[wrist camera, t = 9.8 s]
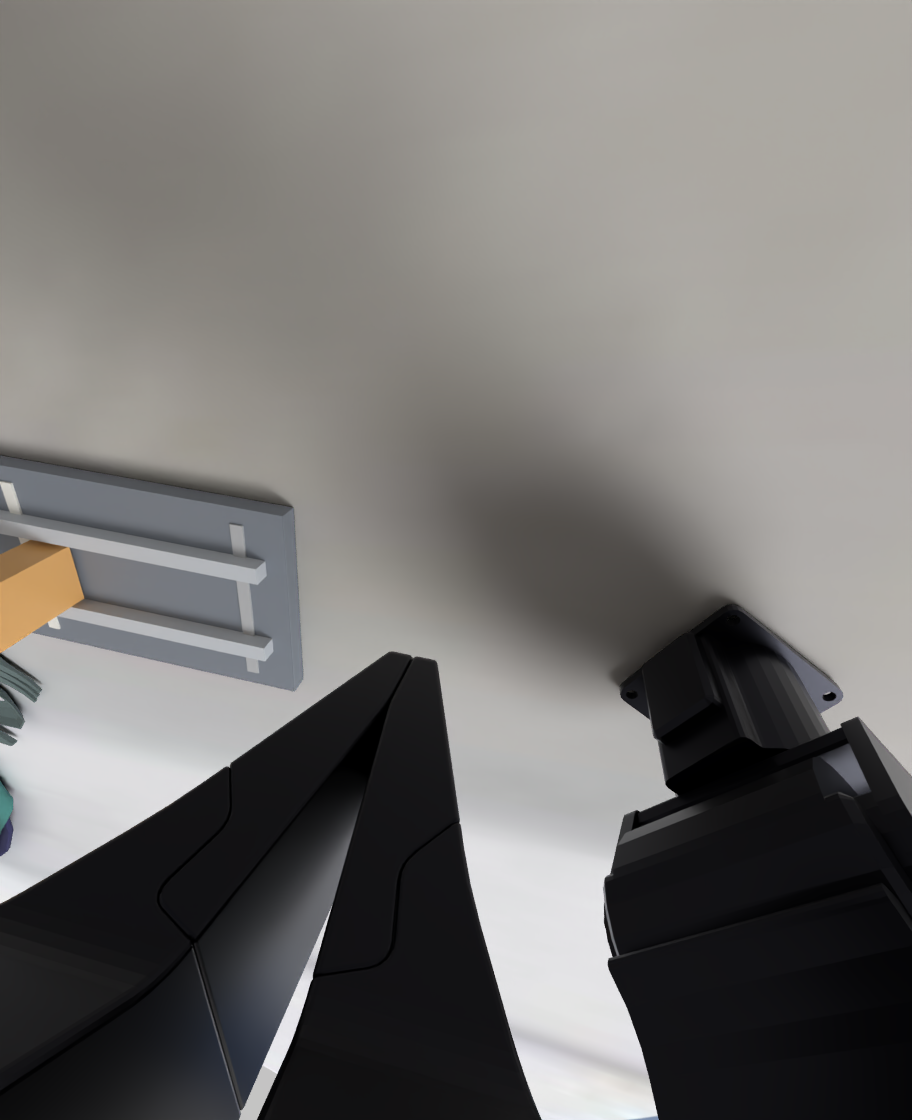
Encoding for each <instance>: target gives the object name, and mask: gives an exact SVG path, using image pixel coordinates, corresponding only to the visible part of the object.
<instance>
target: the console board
mask: <svg viewBox="0 0 912 1120" xmlns="http://www.w3.org/2000/svg"><path fill="white" fill-rule="evenodd" d="M29 540H35V541H40V542H45V543H50V544H55V545H60V546H65V547H69V548H70V551H71V554H72V558H73V561H74V565H75V568H76V571H77V575H78V578H79V582H80V585H81V588H82V592H83V595H84V599H83V600H81V601H80V602H78V603H76V604H75V605H73V606H72V607H70V608H69V609H67V610H66V611H64V612H63V613H61V614H60V615H58V616H57V617H55V618H53V619H52V620H50V621H49V622H47V623H46V624H44V625H43V626H41V627H40V628H38V629H37V630H35V631H34V632H32V633H36V634H40V635H45V636H49V637H54V638H58V639H62V640H67V641H71V642H76V643H80V644H85V645H89V646H94V647H98V648H103V649H107V650H112V651H116V652H120V653H125V654H129V655H134V656H138V657H143V658H147V659H152V660H156V661H161V662H165V663H170V664H174V665H178V666H183V667H187V668H192V669H196V670H201V671H205V672H210V673H214V674H219V675H223V676H228V677H232V678H236V679H241V680H245V681H250V682H254V683H259V684H263V685H268V686H272V687H277V688H281V689H286V690H290V691H294V692H295V690H296V689H297V687H298V686H299V684H300V683H301V682H302V680H303V665H302V647H301V630H300V612H299V594H298V577H297V559H296V542H295V524H294V508H293V507H288V506H282V505H277V504H271V503H265V502H260V501H254V500H249V499H243V498H237V497H232V496H226V495H221V494H215V493H209V492H204V491H198V490H192V489H187V488H181V487H176V486H170V485H164V484H159V483H153V482H148V481H142V480H136V479H131V478H125V477H119V476H114V475H108V474H103V473H97V472H91V471H86V470H80V469H75V468H69V467H63V466H58V465H52V464H46V463H41V462H35V461H30V460H24V459H18V458H13V457H7V456H2V455H0V554H2V553H4V552H6V551H8V550H10V549H13V548H15V547H17V546H19V545H21V544H23V543H25V542H27V541H29Z"/></svg>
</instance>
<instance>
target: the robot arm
mask: <svg viewBox="0 0 912 1120" xmlns="http://www.w3.org/2000/svg"><path fill="white" fill-rule="evenodd" d="M731 615H736V616H737V617H736V618H735V619H733V620H727V618H728V617H729V616H731ZM630 690H634V691H636V692H634V693H629V692H627V691H630ZM827 692H831V693H830V694H827V695H824V694H825V693H827ZM620 695H621V698H622V699H623V700H624V701H625V702H627V703H628V704H629V705H631V706H632V707H633V708H635V709H636V710H638V711H639V712H640V713H642V714H643V715H644V716H646V717H647V718H648V719H650V721H651V726H652V732H653V736H654V738H655V739H657V740H658V745H659V751H660V756H661V762H662V767H663V773H664V779H665V784H666V786H667V787H668V788H669V789H670V790H672V791H673V792H675V795H676V797H674V798H672V799H670V800H667V801H665V802H662V803H660V804H658V805H655V806H653V807H651V808H648V809H646V810H643V811H641V812H639V811H638V810H636V811H633V812H631V813H628V814H626V815H624V818H623V822H622V826H621V830H620V835H619V839H618V843H617V847H616V852H615V856H614V861H613V865H612V869H611V873H610V875H608V876H606V877H605V881H604V887H603V891H604V901H605V903H604V924H605V928H606V933H607V939H608V943H609V946H610V950H611V953H612V958H609V960H608V968H609V971H610V973H611V975H612V977H613V979H614V981H615V984H616V986H617V988H618V990H619V992H620V994H621V996H622V998H623V1000H624V1002H625V1004H626V1007H627V1009H628V1012H629V1014H630V1017H631V1020H632V1023H633V1026H634V1029H635V1031H636V1034H637V1037H638V1040H639V1043H640V1046H641V1048H642V1052H643V1056H644V1060H645V1064H646V1067H647V1071H648V1075H649V1079H650V1083H651V1088H652V1092H653V1096H654V1101H655V1105H656V1109H657V1114H658V1118H659V1120H912V776H911V775H910V774H909V773H908V772H907V771H906V769H905V768H904V767H903V766H902V765H901V764H900V763H899V762H898V760H897V759H896V758H895V757H894V756H893V755H892V754H891V753H890V752H889V750H888V749H887V748H886V747H885V746H884V745H883V744H882V743H881V741H880V740H879V739H878V738H877V737H876V736H875V735H874V734H873V733H872V731H871V730H870V729H869V728H868V727H867V726H866V725H865V724H864V722H863V721H862V720H861V719H860V718H859V717H856V718H853V719H851V720H848V721H846V722H844V723H841V728H839V729H837V730H834V731H832V732H830V730H829V729H828V727H827V725H826V723H825V721H824V720H823V718H822V716H821V714H820V713H822V712H824V711H825V710H827V709H829V708H831V707H832V706H834V705H836V704H837V703H839V702H840V701H841V700H842V698H843V693H842V691H841V689H840V688H839V686H838V685H837V684H836V683H835V682H834V681H832V680H831V679H830V678H829V677H827V676H826V675H825V674H824V673H822V672H821V671H820V670H819V669H817V668H816V667H815V666H814V665H812V664H811V663H810V662H809V661H807V660H806V659H805V658H804V657H802V656H801V655H800V654H799V653H797V652H796V651H795V650H794V649H792V648H791V647H790V646H789V645H787V644H786V643H785V642H784V641H782V640H781V639H780V638H779V637H777V636H776V635H775V634H774V633H772V632H771V631H770V630H769V629H767V628H766V627H765V626H764V625H762V624H761V623H760V622H759V621H757V620H756V619H755V618H754V617H752V616H751V615H750V614H749V613H747V612H746V611H745V610H744V609H742V608H741V607H739V606H737V605H732V604H731V605H726V606H724V607H722V608H721V609H719V610H718V611H717V612H715V613H714V614H713V615H711V616H710V617H709V618H707V619H706V620H705V621H703V622H702V623H701V624H699V625H698V626H697V627H695V628H694V629H693V630H691V631H690V632H689V633H685V634H683V635H682V636H680V637H679V638H678V639H676V640H675V641H674V642H673V643H671V644H670V645H669V646H667V647H666V648H665V649H663V650H662V651H661V652H659V653H658V654H657V655H655V656H654V657H653V658H651V659H650V660H649V661H648V662H646V663H645V664H644V665H643V666H642V668H641V669H640V670H639V671H637V672H636V673H635V674H633V675H632V676H631V677H629V678H628V679H627V680H625V681H624V682H623V683H622V684H621V685H620ZM459 822H460V818H459V811H458V804H457V797H456V790H455V783H454V776H453V769H452V762H451V755H450V748H449V741H448V734H447V727H446V720H445V713H444V706H443V699H442V692H441V685H440V678H439V671H438V665H437V662H436V661H435V660H432V659H427V658H422V657H414V658H412V656H411V655H407V654H403V653H398V652H388V653H387V654H385V655H384V656H382V657H381V658H379V659H378V660H377V661H375V662H374V663H372V664H371V665H370V666H368V667H367V668H365V669H364V670H362V671H361V672H360V673H358V674H357V675H355V676H354V677H352V678H351V679H350V680H348V681H347V682H345V683H344V684H343V685H341V686H340V687H338V688H337V689H335V690H334V691H333V692H331V693H330V694H328V695H327V696H325V697H324V698H323V699H321V700H320V701H318V702H317V703H316V704H314V705H313V706H311V707H310V708H308V709H307V710H306V711H304V712H303V713H301V714H300V715H298V716H297V717H296V718H294V719H293V720H291V721H290V722H289V723H287V724H286V725H284V726H283V727H281V728H280V729H279V730H277V731H276V732H274V733H273V734H272V735H270V736H269V737H267V738H266V739H264V740H263V741H262V742H260V743H259V744H257V745H256V746H254V747H253V748H252V749H250V750H249V751H247V752H246V753H245V754H243V755H242V756H240V757H239V758H237V759H236V760H235V761H233V762H232V763H231V764H230V768H229V767H224V768H223V769H221V770H220V771H219V772H217V773H216V774H214V775H213V776H211V777H210V778H209V779H207V780H206V781H204V782H203V783H201V784H200V785H198V786H197V787H195V788H194V789H192V790H191V791H189V792H188V793H186V794H185V795H183V796H182V797H181V798H179V799H178V800H176V801H175V802H173V803H172V804H170V805H168V806H167V807H165V808H164V809H162V810H160V811H159V812H157V813H155V814H154V815H152V816H150V817H149V818H147V819H146V820H144V821H142V822H141V823H139V824H137V825H136V826H134V827H132V828H131V829H129V830H128V831H126V832H124V833H122V834H121V835H119V836H117V837H116V838H114V839H112V840H110V841H109V842H107V843H105V844H104V845H102V846H100V847H98V848H97V849H95V850H93V851H92V852H90V853H88V854H86V855H85V856H83V857H81V858H80V859H78V860H76V861H75V862H73V863H71V864H69V865H68V866H66V867H64V868H63V869H61V870H59V871H57V872H56V873H54V874H52V875H51V876H49V877H47V878H45V879H44V880H42V881H40V882H39V883H37V884H35V885H33V886H32V887H30V888H28V889H27V890H25V891H23V892H21V893H19V894H18V895H16V896H14V897H12V898H10V899H9V900H7V901H5V902H3V903H1V904H0V1120H239V1118H240V1115H241V1112H240V1110H242V1109H243V1108H244V1106H245V1103H246V1101H247V1099H248V1097H249V1094H250V1092H251V1090H252V1087H253V1085H254V1083H255V1081H256V1078H257V1076H258V1074H259V1071H260V1069H261V1067H262V1065H263V1062H264V1060H265V1058H266V1055H267V1053H268V1051H269V1049H270V1046H271V1044H272V1042H273V1039H274V1037H275V1035H276V1033H277V1030H278V1028H279V1026H280V1023H281V1021H282V1019H283V1016H284V1014H285V1012H286V1010H287V1007H288V1005H289V1003H290V1000H291V998H292V996H293V994H294V991H295V989H296V987H297V984H298V982H299V980H300V977H301V975H302V973H303V971H304V968H305V966H306V964H307V961H308V959H309V957H310V955H311V952H312V950H313V948H314V945H315V943H316V941H317V938H318V936H319V934H320V932H321V929H322V927H323V925H324V922H325V920H326V918H327V916H328V913H329V911H330V909H331V912H330V915H329V919H328V922H327V926H326V930H325V933H324V937H323V940H322V944H321V947H320V951H319V954H318V958H317V962H316V965H315V969H314V972H313V980H312V981H311V984H310V987H309V991H308V994H307V997H306V1001H305V1004H304V1007H303V1010H302V1013H301V1016H300V1019H299V1022H298V1025H297V1028H296V1031H295V1034H294V1037H293V1040H292V1042H291V1044H290V1047H289V1049H288V1051H287V1054H286V1056H285V1058H284V1060H283V1063H282V1065H281V1067H280V1069H279V1071H278V1074H277V1076H276V1078H275V1080H274V1083H273V1085H272V1087H271V1089H270V1092H269V1094H268V1096H267V1098H266V1101H265V1103H264V1105H263V1107H262V1110H261V1112H260V1114H259V1116H258V1119H257V1120H542V1119H541V1117H540V1115H539V1113H538V1110H537V1108H536V1105H535V1103H534V1100H533V1097H532V1095H531V1092H530V1089H529V1087H528V1084H527V1081H526V1078H525V1076H524V1073H523V1069H522V1066H521V1063H520V1060H519V1057H518V1054H517V1051H516V1048H515V1045H514V1041H513V1038H512V1035H511V1031H510V1028H509V1024H508V1021H507V1017H506V1014H505V1010H504V1007H503V1003H502V1000H501V996H500V992H499V989H498V985H497V982H496V978H495V975H494V971H493V968H492V964H491V961H490V957H489V954H488V950H487V946H486V943H485V939H484V936H483V932H482V929H481V925H480V921H479V917H478V913H477V909H476V905H475V901H474V897H473V893H472V888H471V884H470V879H469V873H468V868H467V862H466V857H465V851H464V845H463V838H462V831H461V825H460V824H459ZM332 904H333V905H332ZM331 906H332V908H331Z"/></svg>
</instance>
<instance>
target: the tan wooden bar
mask: <svg viewBox="0 0 912 1120" xmlns="http://www.w3.org/2000/svg"><path fill="white" fill-rule="evenodd" d="M83 599H84V595H83V592H82V588H81V585H80V582H79V578H78V575H77V571H76V568H75V565H74V561H73V558H72V554H71V551H70V548H69V547H65V546H60V545H55V544H50V543H45V542H40V541H35V540H29V541H27V542H25V543H23V544H21V545H19V546H17V547H15V548H13V549H10V550H8V551H6V552H4V553H2V554H0V653H1V652H3V651H4V650H6V649H7V648H9V647H11V646H12V645H14V644H15V643H17V642H18V641H20V640H21V639H23V638H24V637H26V636H27V635H29V634H30V633H32V632H34V631H35V630H37V629H38V628H40V627H41V626H43V625H44V624H46V623H47V622H49V621H50V620H52V619H53V618H55V617H57V616H58V615H60V614H61V613H63V612H64V611H66V610H67V609H69V608H70V607H72V606H73V605H75V604H76V603H78V602H80V601H81V600H83Z"/></svg>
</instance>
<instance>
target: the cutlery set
mask: <svg viewBox="0 0 912 1120" xmlns="http://www.w3.org/2000/svg"><path fill="white" fill-rule="evenodd" d="M0 682H2V683H4V684H6V685H8V686H10V687H12V688H14V689H15V690H17V691H19V692H20V693H22V694H24V695H25V696H26V697H28V698H29V699H30V700H32V701H33V702H36V701H37V697H38V696H39V695H40V694H39V693H40V692H41V691H42V689H41V688H40V687H39V686H38V685H37V684H36V683H35V682H34V681H33V680H32V679H31V678H29V677H28V676H26V675H25V674H23V673H22V672H20V671H19V670H17V669H16V668H14V667H13V666H11V665H10V664H8V663H7V662H6V661H4V660H3V659H2V658H1V657H0ZM0 697H2V698H3V699H4V700H5V701H0V724H2V725H5V726H10V727H14V728H18V729H21V728H22V726H23V724H24V722H25V721H24V718H23V716H22V713H21V712H20V710H19V709H18V708H17V706H16V705H15V703H14V702H13V701H12V699H11V698H10V697H9V695H8V694H7V693H6V692H5V691H4V690H3V689H2V688H1V687H0ZM16 742H17V740H15V739H14V738H12V737H11V736H9V735H8V734H6V733H5V732H3V731H1V730H0V743H3V744H6V745H9V746H12V745H14V744H15V743H16ZM12 810H13V798H12V796H11V795H10V794H9V792H8V791H7V790H6V788H5V787H4V786H3V784H2V783H1V781H0V856H2V855H3V854H4V853H6V852H7V851H8V850H9V848H10V845H11V840H12V834H13V826H12V823H11V821H10V818H9V817H10V814H11V812H12Z"/></svg>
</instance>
